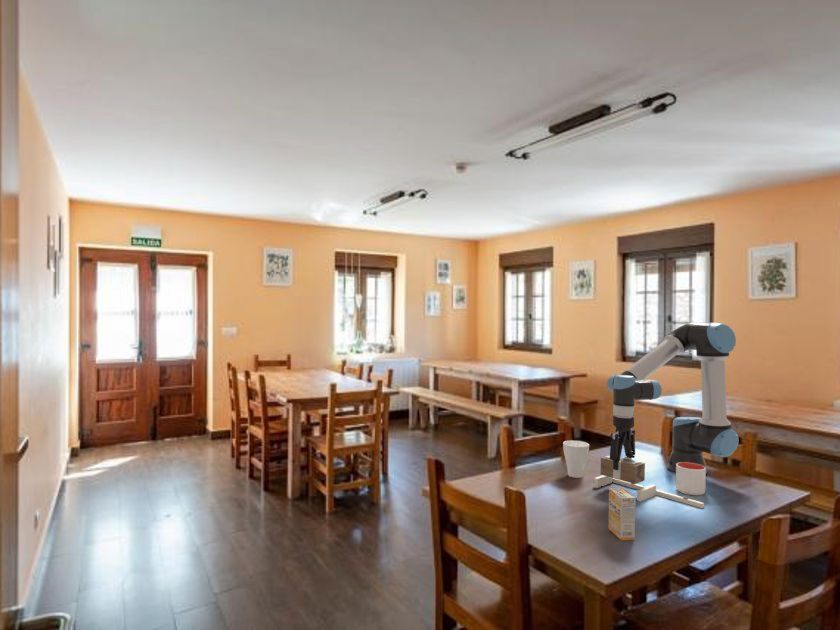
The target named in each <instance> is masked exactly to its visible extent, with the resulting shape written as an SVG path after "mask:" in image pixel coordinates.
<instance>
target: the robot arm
mask: <svg viewBox="0 0 840 630" xmlns="http://www.w3.org/2000/svg"><path fill="white" fill-rule="evenodd" d="M735 334H736V333H735V332H734V330H733V329H732V327H730V325H727V324H725V323H718V322H694V321H693V322H687V323H685V324H682V325H681V326H679V327H677V328H675V329H674V330H672V331H670V332H669V333H668V334H667V335H666V336H664V338H663V341H662V342H660V343H659V344H658V345H657V346H655V347H654V348H653V349H651V350H650V351H649V352H648V353H646V354H645V355H643V356H642V357H641V358H639V360H637V361H636V362H635V363H633V364H632V365H631V366H629V368H627V369H625V371H623V372H621V374H613V375H611V376H609V377H608V379H607V382H606V385H607V389H608V390H609V391H610V392H611V393H613V395H612V396H613V403H612V404H613V405H612V408H613V410H612V415H613V416H612V425H613V426H614V428H615V431H614V433H613V432H611V433H610V447H609V448H610V449H609V455H610V460H613V478H617V479H621V461H620V457H622V451H623V449H624V456H623V458H627V459H631V460H633V459H635V455H636V439H635V437H636V430H635V429H633V428H634V427H635V418H634V416H635V403H636V402H635V401H647V400H648V401H652V400H657V399H659V398H660V397H661V395H662V385H661V383H660V382H659V381H658V380H656V379H647V378H649V377H650V376H651V375H652V374H654V373H655V372H656V371H658V370H659V369H660V368H661V367H663V366H664V365H666V364H667V363H668V362H669V361H670V360H672V359H673V358H675V357H676V356H677V355H682V354H683V353H685V352H686V351H692V350H693V351H694V350H695V352H696V357H698V359H699V360H700V370H701V371H700V373H701V377H700V379H701V403H702V404H701V405H702V408H701V409H702V417H698V416H697V417H696V416H680V417H675V418H674V419H673V421H672V451H671V454H670V456H669V459H668V461H667V469H668V470H670V471H672V472H675V473H676V464H677V463H680V462H689V463H695V464H699V465H702V466H704V467H705V468H706V474H707V473H708V472H707V469H708V468H707V464H706V461H705V459H704V455H703V452H704V453H707V454H710V455H712V456H713V457H714V456H716V457H721V458H727V457H730V456H731V455H733V454H734V453H735V451H736V450H737V449H738V446H739V440H740V439H739V435H738V433H737V432H736V431H735V430H734V429H732V422H731V421H730V420H729V419H728V418H727V389H726V388H727V386H726V385H727V384H726V360H727V359H728V358H729V357H730V353H731V352H732V351H734V349H735V347H736V343H737V339H736V335H735Z"/></svg>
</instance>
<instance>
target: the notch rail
mask: <svg viewBox="0 0 840 630" xmlns="http://www.w3.org/2000/svg"><path fill="white" fill-rule="evenodd" d="M612 482H613V483H615V484H617V485H620V486H621V485H622V486H624V487H627V488H631V489H634V490H636V501H639V502H642V501H645V500H648V499H649V498H651V497H655V496H659V497H663V498H666V499H668V500H673V501H676V502H679V503H682V504H686V505H689V506H693V507H697V508H699V509H700V508H701V509H704V508H705V503H704V502H702V501H698V500H695V499H691V498H688V497H687V496H680V495H676V494H674V493H670V492H666V491H662V490H660V489H657V485H655V484H650V485H647V486H645V485H641V484H639V483H637V484H633V483H629V482H626V481H622V480H619V479H615V478H611V477H608V476H604V475H599V476H596V477H594V481H593V487H594V488H596V489H598V488H601V486H602V487H604V486H606V485H609V484H612Z"/></svg>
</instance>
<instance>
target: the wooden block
mask: <svg viewBox="0 0 840 630" xmlns="http://www.w3.org/2000/svg"><path fill="white" fill-rule="evenodd" d="M620 461H621V479H619V480H622V481H626V482H629V483H633V484H640V483H642V482H644V481H645V478H646V477H645V475H646V463H645V462H641V461H640V460H635V459H632V460H631V459H627V458H624V456H623V457H622V456H621V457H620ZM602 475H604V476H608V477H611V478H613V460H610V454H609V455H606V456H601V457H600V476H602ZM615 479H617V478H615Z"/></svg>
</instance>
